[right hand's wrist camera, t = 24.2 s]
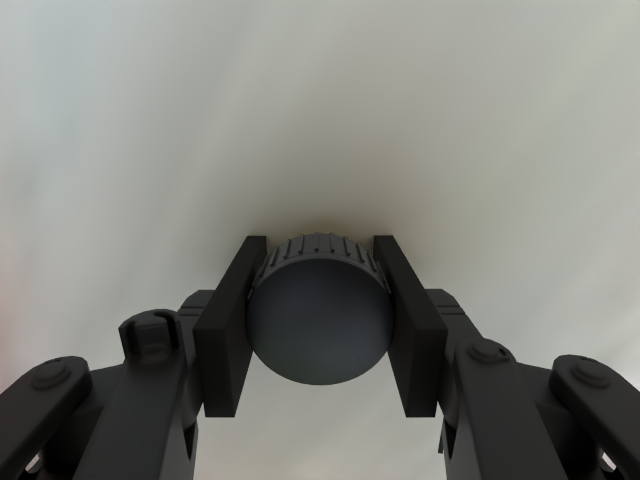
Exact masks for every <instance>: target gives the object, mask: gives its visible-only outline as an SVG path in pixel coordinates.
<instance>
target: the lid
mask: <svg viewBox="0 0 640 480" xmlns="http://www.w3.org/2000/svg"><path fill="white" fill-rule="evenodd" d="M390 296H392V292H391V290H390V287H389V285H388V282H387V280H386V277H385V275H384V273H383V272H382V269H381V267H380V264H379V262H378V261H377V262H375V260H374V259H373V257H372V254H371V252H370V251H368V252H367V251H366V250H365V249H363V248H362V247H361V245H360V243H358V242H357V244H356V243H354V242H353V241H350V240H348V238H347V237H345V236H344V238H343V237H340V236H336V235H333V233H330V234H319V232H315V234H309V235H305V236H304V234H301V236H300V237H297V238H295V239H292V240H290V239H288V240H287V242H286V243H284V244H283V245H281V246H280V247H278V246H276V247H275V249H274V252H273V253H272V254H271V255H270V256H268V255H267V256H266V257H265V260H264V263H263V265H262V267H261V266H259V268H258V271H257V274H256V276H255V279H254V281H253V284H252V286H251V290H250V292H249V295H248V298H247V302H248V305H247V308H246V314H245V326H246V333H247V337H248V340H249V342H250V345H251V347H252V349H253V350H254V352H255V353H256V355H257V356H258V358H259V359H260V360H261V361H262V362H263V363H264V364H265V365H266V366H267V367H269V368H270V369H271V370H272V371H274V372H275V373H277V374H279V375H281V376H283V377H285V378H287V379H289V380H292V381H295V382H299V383H303V384H309V385H332V384H337V383H342V382H345V381H349V380H351V379H354V378H356V377H358V376H360V375H362V374H364V373H365V372H367V371H368V370H369V369H371V368H372V367H373V366H374V365H375V364H377V363H378V362H379V360H380V359H381V358H382V357H383V356H384V354H385V353H386V351H387V350H388V348H389V346H390V343H391V341H392V338H393V335H394V330H395V311H394V306H393V303H392V300H391V297H390Z"/></svg>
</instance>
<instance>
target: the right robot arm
mask: <svg viewBox="0 0 640 480" xmlns="http://www.w3.org/2000/svg"><path fill="white" fill-rule="evenodd" d="M266 256H267V248H266V236H247V237H246V239H245V241H244V243H243V244H242V246H241V248H240V249H239V251H238V253H237V254H236V256H235V258H234V259H233V261H232V263H231V265H230V266H229V268H228V270H227V271H226V273H225V275H224V276H223V278H222V280H221V281H220V283H219V285H218V287H217V288H216V290H198V291H197V292H195V293H194V294H192V295H191V296H189V297H188V298H187V299H186V300H185V302H184V303H183V304H182V306H181V309H179V310H178V311H177V313H176V312H175V311H172V310H168V309H155V310H150V311H145V312H142V313H139V314H137V315H134V316H132V317H130V318H129V319H127V320H126V321H124V322H123V323H122V324H121V326H120V327H119V328H118V330H119V334H120V338H121V342H122V346H123V350H124V354H125V360H124V362H123V364H120V365H116V366H112V367H107V368H102V369H97V370H93V371H89V367H88V364H87V361H86V360H84V359H83V358H82V357H76V356H67V357H60V358H55V359H52V360H49V361H46V362H44V363H42V364H40V365H38V366H36V367H34V368H32V369H31V370H29V371H28V372H27V373H25V374H24V375H22V376H21V377H20V378H19V379H18V380H17V381H15V382H14V383H13V384H12V385H11V386H10V387H9V388H7V389H6V390H5V391H4V392H3V393H2V394H1V395H0V480H193V476H194V467H195V458H196V449H197V440H198V424H197V415H198V413H199V410H200V408H201V405H202V403H203V404H204V411H205V417H235V413H236V410H237V406H238V403H239V399H240V396H241V392H242V389H243V385H244V381H245V378H246V374H247V371H248V367H249V364H250V360H251V357H252V353H253V349H252V347H251V345H250V342H249V340H248V337H247V333H246V326H245V314H246V308H247V305H248V302H247V298H248V295H249V292H250V290H251V286H252V284H253V281H254V279H255V276H256V274H257V271H258V268H259V266H261V267H262V265H263V263H264V260H265V257H266ZM373 259H374V260H375V262H377V261H378V262H379V264H380V267H381V269H382V272H383V273H384V275H385V277H386V280H387V282H388V285H389V287H390V290H391V292H392V296H390V297H391V300H392V303H393V306H394V311H395V330H394V335H393V338H392V341H391V343H390V346H389V348H388V350H387V352H388V355H389V359H390V362H391V366H392V369H393V373H394V376H395V380H396V383H397V387H398V390H399V394H400V397H401V401H402V404H403V408H404V411H405V415H406V417H435V414H436V408H437V401H438V402H439V405H440V407H441V410H442V412H443V415H444V418H443V424H442V430H441V436H440V442H439V449H438V453H442V454H443V448H444V457H445V466H446V475H447V480H640V392H639V391H638V390H637V389H636V388H635V387H633V386H632V385H631V384H630V383H629V382H628V381H627V380H625V379H624V378H623V377H622V376H621V375H620V374H618V373H617V372H615V371H614V370H613V369H611V368H610V367H608V366H606V365H604V364H602V363H600V362H598V361H596V360H594V359H591V358H587V357H584V356H578V355H569V354H568V355H562V356H559V357H558V358H556V359H555V360H554V363H553V366H552V370H550V369H545V368H540V367H536V366H531V365H526V364H522V363H519V362H516V360H515V357H514V356H513V355H512V353H511V352H510V351H509V350H508V349H507V348H505V347H504V346H502V345H501V344H499V343H497V342H495V341H492V340H490V339H486V338H483V337H482V335H481V334H480V333H479V331H478V330H477V328H476V327H475V326H474V324H473V323H472V322H471V320H470V319H469V317H468V316H467V315H465V312H464V311H463V309H462V308H461V307H460V305H459V304H458V302H457V301H456V300H455V298H454V297H453V296H452V295H450V294H449V293H447V292H446V291H444V290H443V289H424V287H423V286H422V284H421V282H420V281H419V279H418V277H417V276H416V274H415V272H414V271H413V269H412V267H411V266H410V264H409V262H408V261H407V259H406V257H405V255H404V254H403V252H402V250H401V249H400V247H399V245H398V244H397V242H396V240H395V239H394V237H393V235H391V236H374V250H373ZM604 452H605V453H606V455H607V456H608V457H609V458H610V459H611V461H612V462H613V463H614V464H615V465H616V469H615V470H613V469H612V468H611V467H610V466H609V465H608V464H607V463H606V462H605V461H604V459H603V458H602V456H603V454H604ZM36 454H38V457H39V460H38V461H37V462H36V463H35V465H34V466H33V467H32V468H31V469H29V470H28V471H26V469H25V468H26V466H27V465H28V464H29V463H30V462H31V460H32V459H33V458H34V457H35V456H36Z"/></svg>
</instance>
